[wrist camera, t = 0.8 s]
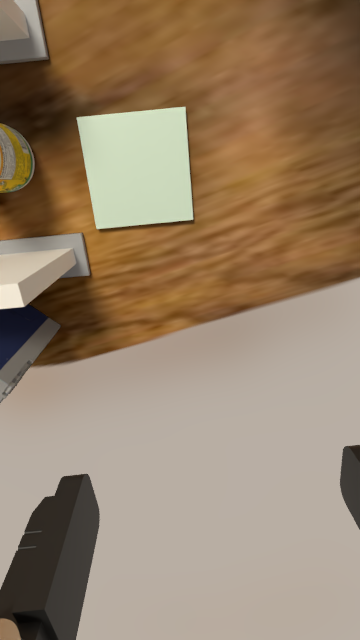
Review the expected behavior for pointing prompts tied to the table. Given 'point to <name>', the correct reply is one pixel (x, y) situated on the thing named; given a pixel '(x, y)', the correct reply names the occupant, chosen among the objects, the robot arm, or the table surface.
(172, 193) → the pad
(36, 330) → the cassette player
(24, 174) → the supplement bottle
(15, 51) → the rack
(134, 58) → the table surface
